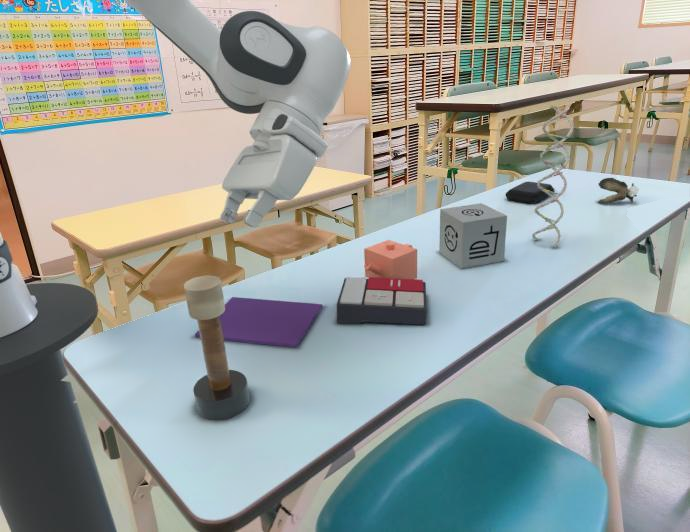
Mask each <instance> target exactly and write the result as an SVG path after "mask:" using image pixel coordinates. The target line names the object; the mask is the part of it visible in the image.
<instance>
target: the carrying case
mask: <svg viewBox="0 0 690 532" xmlns="http://www.w3.org/2000/svg"><path fill="white" fill-rule="evenodd" d="M537 183H538V182H537V181H524V182H522V183H519V184H518V185H515V186H514V187H512V188H510V189H509V190H507V192H505V194H504V195H505V198H506V199H507V200H509V201H513V202H520V203H527V204H535V203H537V202H539V201H541V200H542V199H544V198H546V197H547V196H549V195H548V194H547V193H545V192H544V191H542V190H541V189H540V188H538V186H537ZM540 186H541V187H543V188H544V189H546V190H549V191H550V192H549V193H551V191H552V192H555V193H556V189H555V188H554V187H553V185H552V184H550V183H545V182H540ZM551 194H552V195H555V194H554V193H551Z"/></svg>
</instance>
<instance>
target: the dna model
mask: <svg viewBox="0 0 690 532" xmlns="http://www.w3.org/2000/svg"><path fill="white" fill-rule="evenodd" d="M549 107H550V108H551V109H553V110H554V111H555V112H557V114H555V116H553V117H550V118H549V119H548V120H547V121H545V122H544V123H543V124H542V129H541V130H542V132H543V133H544V134H545V135H546V136H547V137H549V139H551V140H553V143H554V144H553V145H551V146H550V147H549V146H548V148H547V147H546V148H545V150H543V151H542V152H540V154H539V159H540V161H541V162H542V163H543V164H544V165H545V166H548V167H549V168H550V169H552V170H553V172H551V173H549V174H547V175H545V176H544V177H542V178H540V179H539V180H536V182H537V186H538V188H540V189H541V190H542V191H544V192H545V193H547V194H548V195H547V196H549V197H551V198H550V199H549V200H548V201H545V202H543V203H541V204H539V205H537V206H536V207H534V213H535V214H536V215H537V216H539V217H540V218H542V219H543V220H544V222H545V223H549V225H547V226H545V227H543V228H540V229H538V230H537V231H535V232H533V233H532V235H531V236H532V238H533V240H535V241H538V240H539V238H538V237H536V235H538V234H540V233H543V232H546V231H550V230H552V229H554V230H555V231H556V233H557V240H556V242H554V243H555V244H553V248H554V249H555V248H557V246H558V245H559V244H560V242H561V238H562V235H561V232H560V228H559V227H558V226H557V224H558V223H559V222H560V220H561V219H562V218H563V216H564V212H565V211H564V210H565V209H564V205H563V204H562V202H561V201H560V200H559V198H560V197H561V196H562V195H563V194H565V192H566V190H567V187H568V186H567V185H568V182H567V179H566V177H565V176H564V174H563V173H564V172H563V171H562V170H563V169H564V168H566V166H567V165H568V164H569V163H570V158H571V154H570V151H569V149H568V148H567V147H566V145H565V144H564V143H563V142H565V141H566V140H567V139H569V138H570V137H571V135H572V133H573V132H574V123H573V120H572V119H571V118H570V116H568V115H567V114H566V112H568V111H570V109H571V107H570V106H568V107H567V108H565V109H563V110H561V109H559V108H557V107H556V106H554V105H553V104H550V106H549ZM559 119H560V120H561V119H566V121H567V122H568V124H569V126H570V129H569V131H568V133H567V135H565V136H562V135H557V134H552V133H549V132H548V131H547V130H546V127H547V126H548V125H549V124H550V123H552V122H553V121H557V120H559ZM556 137H557V138H556ZM558 138H561V140H558ZM558 148H563V150H564V151H565V153H566V155H567V158H566V159H565V161H564V163H563V164H562V165H560V164H554V163H553V162H548V161H546V160H545V159H544V157H543V156H544V155H545V154H546V153H548V152H550V151H551V150H555V149H558ZM557 167H558V168H557ZM557 176H560V178H561V179H562V180H563V187H562V189H561V191H560V192H556V191H555V192H552V191H551V193H549V192H550V191H549V190H546V189H544V188H543V187H541V186H540V183H543V181H545V180H548V179H551V178H553V177H557ZM552 193H554V194H552ZM553 203H557V204H558V205H559V209H560V214H559V216H558V217H557V218H556V220H554V219H551V218H549V217H546V216H545V215H543V214H542V213H540V212H539V211H538V210H539V209H540V208H541V209H542V208H545V207H546V206H548V205H550V204H553Z"/></svg>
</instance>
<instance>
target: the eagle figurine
mask: <svg viewBox="0 0 690 532" xmlns="http://www.w3.org/2000/svg"><path fill="white" fill-rule="evenodd" d="M597 184H598V187H599V188H600V189H602V190H605V191H608V192H614V193H615V194H611V195H608V196H606V197H605V198H602V199H599V200H598V201H597V203H598V204H601V205H608V204H612V203H615V202H619V201H624V200H626V198H627V199H628V200H629V201H630V203H632V204H633V203H634V197H638V195H637V194H638V192H639V190H640V189H639V188H638V186H636V185H635V184H634V182H632V183H631V187H628V184H627V183H626V182H625V181H622V180H619V179H616V178H614V177H605V178H602V179H600V180H599V182H598V183H597Z"/></svg>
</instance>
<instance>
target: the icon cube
mask: <svg viewBox="0 0 690 532" xmlns="http://www.w3.org/2000/svg"><path fill="white" fill-rule="evenodd" d="M507 224H508V215H506V214H504V213H502V212H501V211H499V210H496V209H495V208H492V207H490V206H489V205H486V204H484V203H482V202H480V203H472V204H468V205H467V204H466V205H459V206H452V207H446V208H440V209H439V243H438V246H439V251H438V253H440V254H441V255H442V256H444V257H445V258H446V259H448V260H449V261H451V262H452V263H453V264H454V265H456V266H457V267H459V268H460V269H461V270H462V269H467V268H472V267H478V266H483V265H484V266H485V265H488V264H495V263H500V262H504V261H505V252H506V251H505V250H506V237H507Z"/></svg>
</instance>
